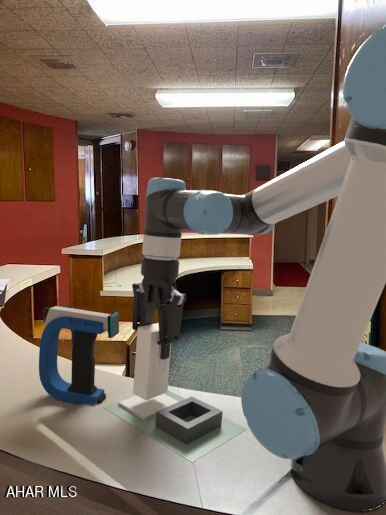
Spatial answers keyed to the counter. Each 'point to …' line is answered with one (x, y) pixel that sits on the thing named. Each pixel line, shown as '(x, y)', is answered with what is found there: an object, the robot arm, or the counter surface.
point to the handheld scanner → (73, 352)
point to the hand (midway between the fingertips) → (152, 369)
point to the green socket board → (178, 423)
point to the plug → (148, 364)
